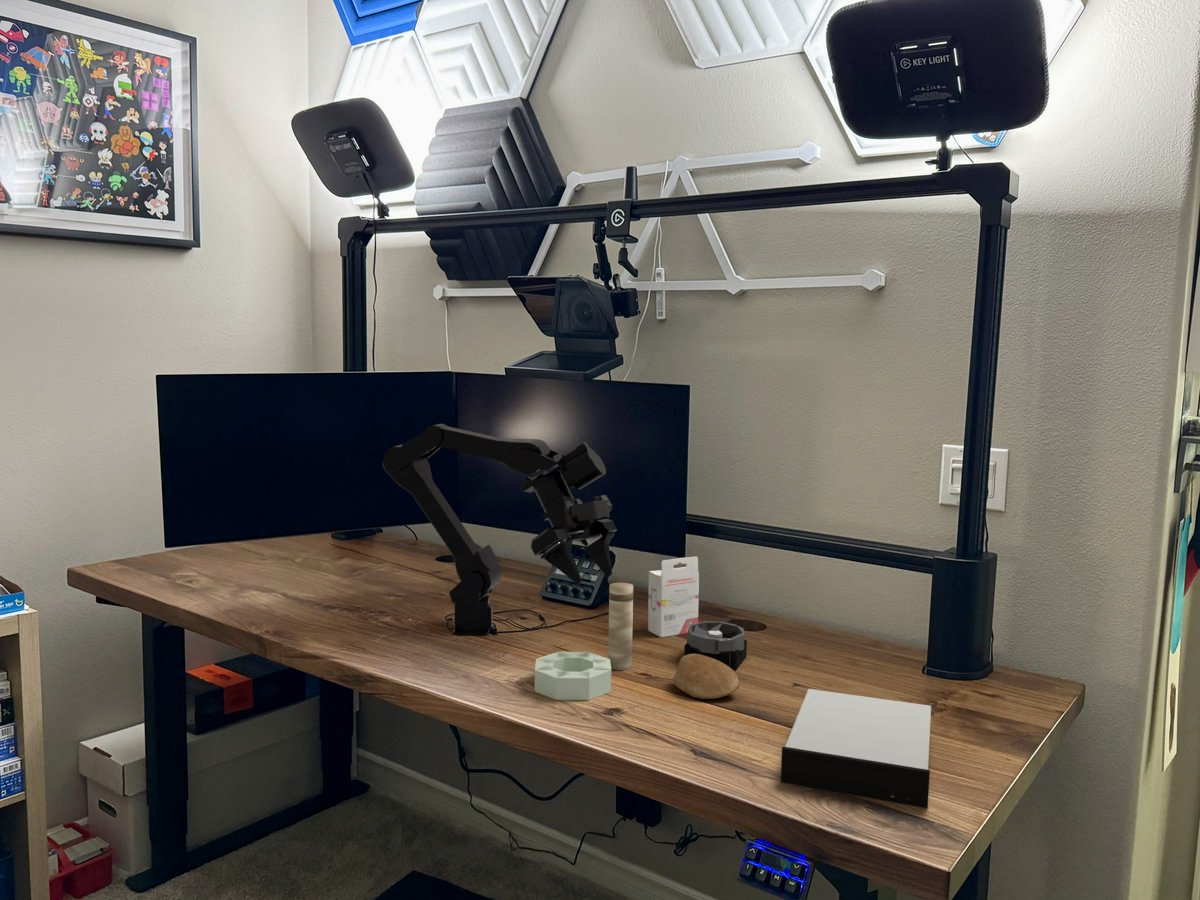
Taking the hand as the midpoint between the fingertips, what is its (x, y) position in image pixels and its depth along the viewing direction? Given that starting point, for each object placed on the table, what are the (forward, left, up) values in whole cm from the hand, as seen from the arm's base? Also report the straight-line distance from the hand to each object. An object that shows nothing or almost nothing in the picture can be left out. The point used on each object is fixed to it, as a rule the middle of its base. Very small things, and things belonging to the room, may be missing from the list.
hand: (595, 579), depth 165 cm
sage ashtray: (-4, -17, -13) cm, 22 cm away
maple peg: (+4, -8, -13) cm, 16 cm away
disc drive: (+35, -42, -14) cm, 56 cm away
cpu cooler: (+21, -5, -13) cm, 25 cm away
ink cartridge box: (+15, +11, -13) cm, 23 cm away
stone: (+17, -19, -13) cm, 29 cm away
